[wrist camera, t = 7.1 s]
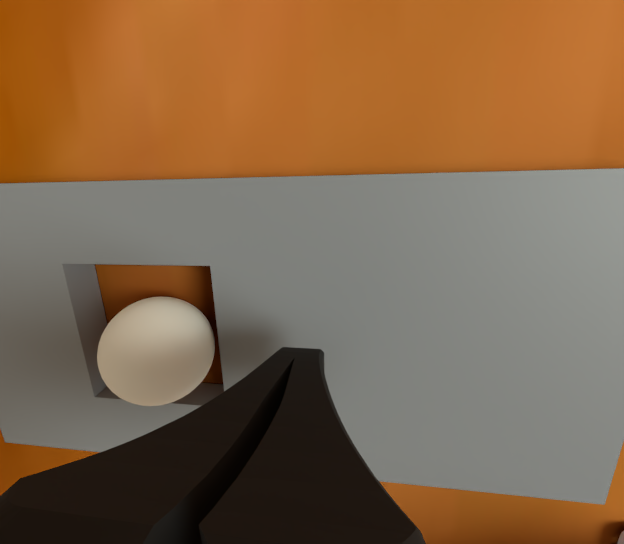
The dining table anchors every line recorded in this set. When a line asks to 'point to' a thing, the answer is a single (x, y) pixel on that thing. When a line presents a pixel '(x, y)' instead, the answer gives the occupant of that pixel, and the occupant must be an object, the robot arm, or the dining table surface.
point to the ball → (156, 351)
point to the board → (348, 313)
